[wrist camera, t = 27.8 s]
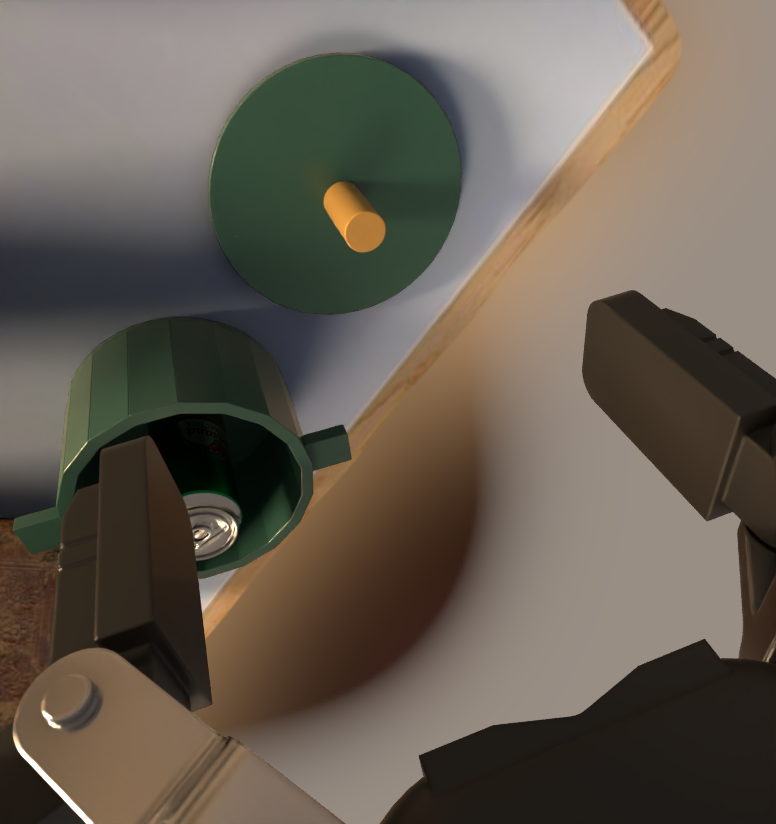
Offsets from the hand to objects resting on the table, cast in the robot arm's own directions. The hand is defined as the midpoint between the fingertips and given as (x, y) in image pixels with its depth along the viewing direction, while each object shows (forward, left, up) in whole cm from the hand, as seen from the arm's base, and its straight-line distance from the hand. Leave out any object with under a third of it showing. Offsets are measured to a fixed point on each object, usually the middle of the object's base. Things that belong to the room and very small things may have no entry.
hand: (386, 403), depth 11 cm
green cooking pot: (-4, -22, -30) cm, 38 cm away
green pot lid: (+7, -7, -30) cm, 31 cm away
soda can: (-4, -22, -30) cm, 37 cm away
